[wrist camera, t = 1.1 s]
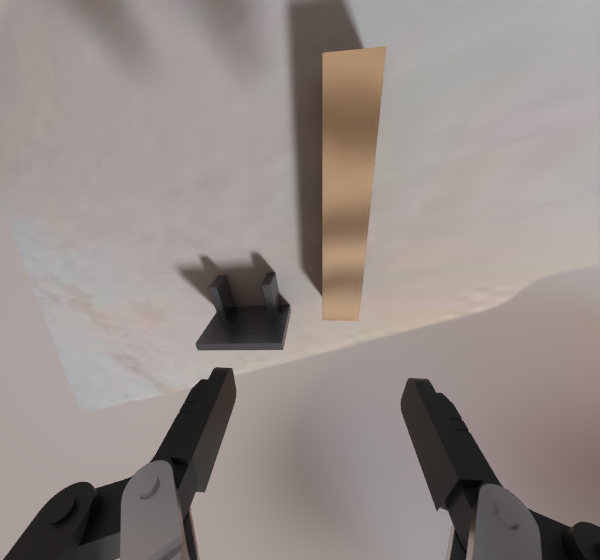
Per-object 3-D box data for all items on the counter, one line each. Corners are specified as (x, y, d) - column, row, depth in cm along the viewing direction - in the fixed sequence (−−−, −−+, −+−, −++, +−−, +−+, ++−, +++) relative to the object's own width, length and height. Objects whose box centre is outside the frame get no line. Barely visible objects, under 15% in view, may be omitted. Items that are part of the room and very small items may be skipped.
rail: (322, 76, 19) (322, 52, 15) (371, 71, 18) (386, 46, 14) (322, 295, 30) (322, 320, 25) (353, 296, 29) (358, 320, 25)
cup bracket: (209, 276, 29) (179, 308, 23) (285, 272, 28) (274, 305, 22) (221, 313, 32) (198, 350, 26) (290, 311, 31) (283, 349, 25)
